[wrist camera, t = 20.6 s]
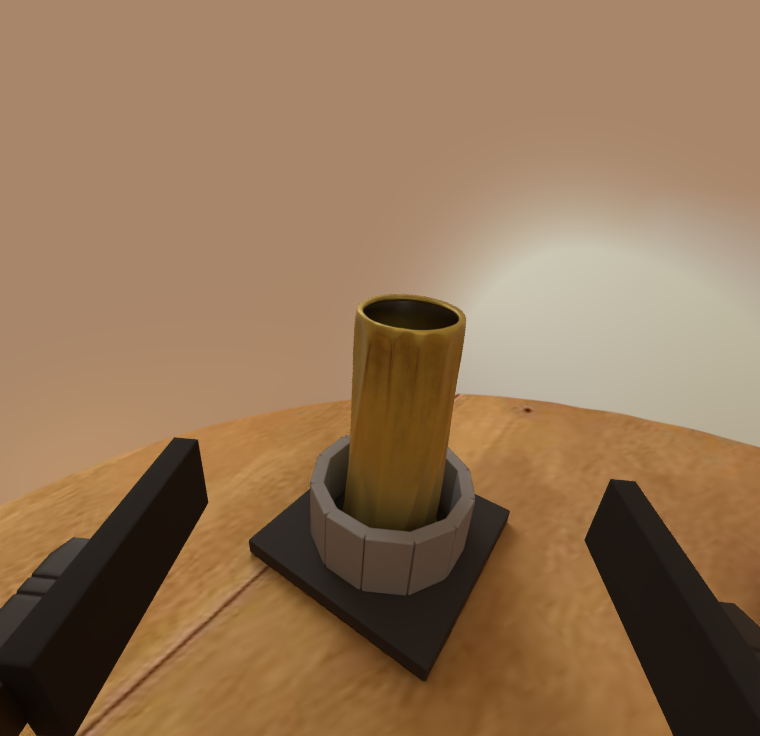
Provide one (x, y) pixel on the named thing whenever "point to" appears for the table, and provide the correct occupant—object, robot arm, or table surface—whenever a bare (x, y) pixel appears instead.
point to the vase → (401, 408)
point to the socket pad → (383, 613)
